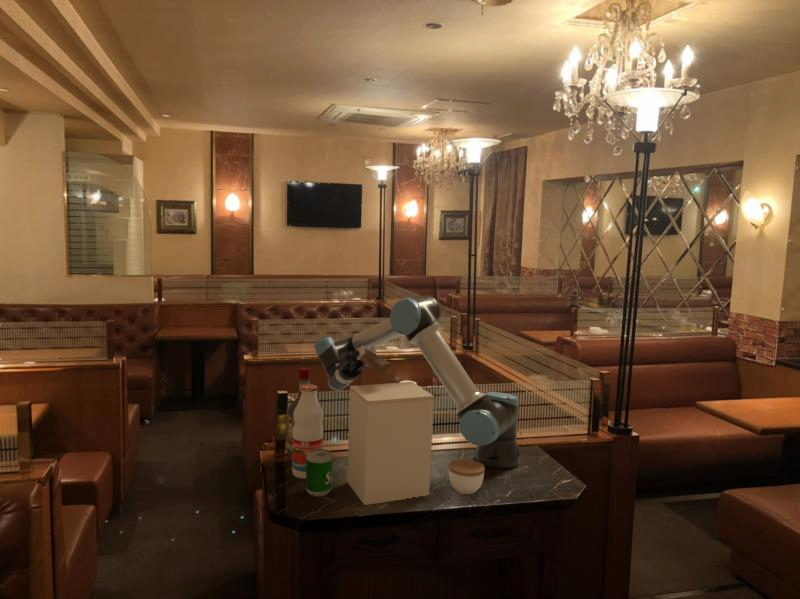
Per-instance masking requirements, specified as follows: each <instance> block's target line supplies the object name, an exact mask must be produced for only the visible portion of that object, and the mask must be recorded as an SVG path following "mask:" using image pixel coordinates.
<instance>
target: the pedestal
mask: <svg viewBox="0 0 800 599" xmlns="http://www.w3.org/2000/svg"><path fill="white" fill-rule="evenodd" d="M434 397H435V396H434V395H433V394H432V393H430V392H428V391H426V390H425V389H423V388H422V387H421V386H419V385H417V384H416V383H414V382H413V381H405V382H403V381H402V382H393V383H392V382H390V383H389V382H388V383H378V384H377V383H376V384H375V383H374V384H364V385H363V384H360V385H359V384H358V385H350V386H349V412H348V413H349V416H348V417H349V418H348V419H349V420H348V448H347V450H348V451H347V452H348V453H347V455H348V456H347V481H346V482H347V484H348V485H349V487H350V488H351V489H352V490H353V491H354V493H355V494H356V496H357V497H358V498H359V500H360V501H361V502H362V504H363V505H364V506H368V505H375V504H381V503H387V502H394V501H395V500H396V501H401V500H407V498H409V499H413V498H412V497H416V498H420V497H419V496H423V497H428V496H427V495H429V496H430V487H431V486H430V485H431V466H432V464H431V462H432V445H433V443H432V442H433V441H432V440H433V421H434V404H435V402H434V401H435V400H434Z"/></svg>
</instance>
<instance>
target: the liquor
mask: <svg viewBox="0 0 800 599" xmlns="http://www.w3.org/2000/svg"><path fill="white" fill-rule="evenodd" d="M298 370H299V371H298V380H299V382H298V394H297V398H296V399H295V400H294V401H293V402H292V403H291V404H290V405H289V406H288V408H287V434H286V435H287V440H286V441H287V443H286V444H287V445H286V446H287V447H286V448H287V449H286V454H287V456H288V457H289V458H290V459H291V460H292V444H293V427H294V425H295V421H294V416H293V415H294V410H295V408H296V407H297V405H298V402H299V400H300V397H301V394H302V392H301V386H302V385H306V384H311V383H310V380H311V368H310V367H299V369H298Z"/></svg>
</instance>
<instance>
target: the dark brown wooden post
mask: <svg viewBox="0 0 800 599" xmlns="http://www.w3.org/2000/svg"><path fill="white" fill-rule="evenodd" d="M358 349H359V348H356V351H357V350H358ZM364 349H365V354H364V355H363V356H362V357H361V359H360V360H361V361H362V362H364V363H365V364H367V365H368V366H370V367H371V369H373V370H374V371H375V372H377V373H379V374H380V375H391V372H392V363H390V362H388V360H385V359H384V358H382V357H380V356H379V355H377V353H376V354H374V353H372V352H371V351H369V350H367V349H366V348H364ZM368 366H367V367H368ZM370 367H369V368H370Z"/></svg>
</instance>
